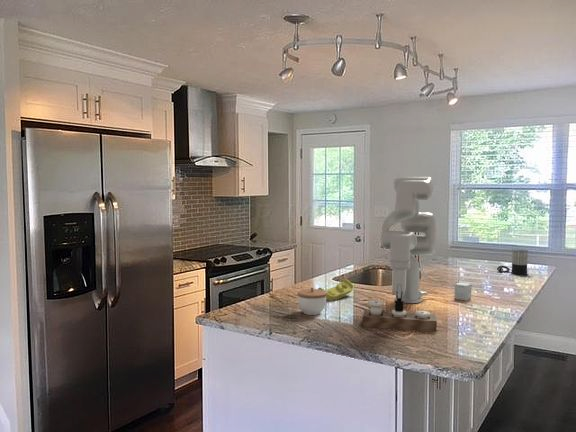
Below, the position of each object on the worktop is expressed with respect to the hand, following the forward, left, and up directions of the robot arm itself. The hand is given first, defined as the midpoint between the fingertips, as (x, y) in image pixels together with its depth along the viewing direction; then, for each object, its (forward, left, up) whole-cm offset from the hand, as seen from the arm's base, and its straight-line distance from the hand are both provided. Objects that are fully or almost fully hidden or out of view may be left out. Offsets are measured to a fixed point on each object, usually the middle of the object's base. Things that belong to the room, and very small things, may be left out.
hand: (399, 310), depth 192 cm
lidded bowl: (+25, -29, -6) cm, 39 cm away
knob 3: (-8, +5, -5) cm, 10 cm away
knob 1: (+7, -5, -2) cm, 9 cm away
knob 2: (0, 0, -5) cm, 5 cm away
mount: (0, 0, -6) cm, 6 cm away
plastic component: (+2, -52, -6) cm, 53 cm away
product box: (-54, -27, -6) cm, 61 cm away
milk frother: (-129, -70, -6) cm, 147 cm away
